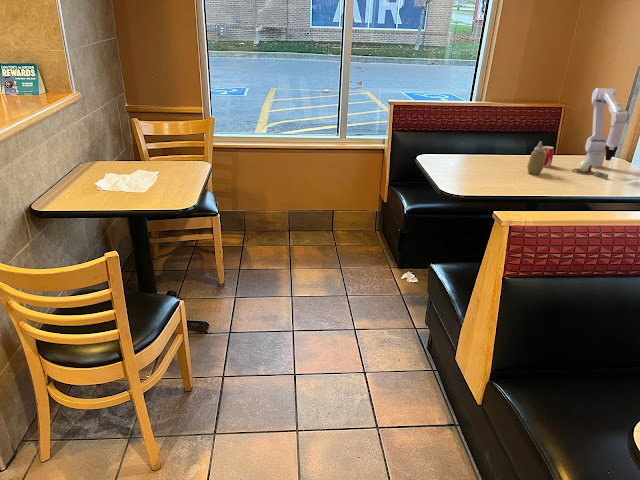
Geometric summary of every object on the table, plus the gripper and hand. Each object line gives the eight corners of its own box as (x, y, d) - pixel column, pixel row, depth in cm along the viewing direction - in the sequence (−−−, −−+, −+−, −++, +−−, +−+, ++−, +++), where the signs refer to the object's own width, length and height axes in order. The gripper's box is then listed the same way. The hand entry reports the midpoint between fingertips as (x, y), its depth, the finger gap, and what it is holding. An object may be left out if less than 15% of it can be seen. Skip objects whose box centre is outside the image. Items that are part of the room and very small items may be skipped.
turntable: (565, 171, 262) (567, 164, 260) (580, 169, 267) (582, 161, 265) (597, 182, 246) (600, 174, 244) (613, 179, 251) (615, 171, 249)
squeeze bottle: (541, 172, 261) (549, 140, 253) (541, 176, 255) (548, 144, 247) (526, 170, 264) (533, 138, 256) (525, 174, 258) (532, 142, 250)
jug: (583, 173, 257) (586, 162, 254) (576, 171, 260) (579, 160, 258) (591, 172, 259) (594, 161, 256) (584, 169, 263) (587, 159, 260)
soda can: (551, 169, 266) (556, 149, 261) (538, 169, 267) (542, 148, 262) (548, 166, 272) (553, 146, 267) (535, 165, 273) (540, 145, 268)
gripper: (623, 138, 238) (616, 164, 244) (623, 133, 249) (616, 158, 255) (608, 136, 241) (600, 162, 247) (608, 131, 252) (601, 156, 258)
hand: (607, 160), depth 251 cm, fingers closed
